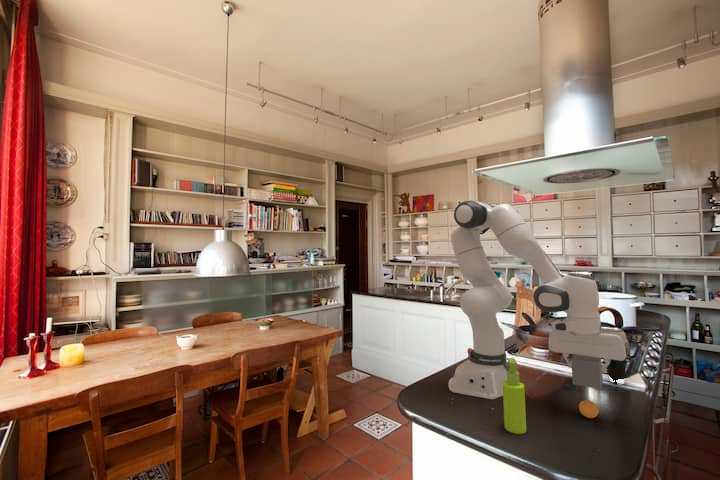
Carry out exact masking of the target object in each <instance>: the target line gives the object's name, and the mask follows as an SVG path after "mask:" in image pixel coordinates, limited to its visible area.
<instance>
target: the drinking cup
mask: <svg viewBox="0 0 720 480" xmlns="http://www.w3.org/2000/svg"><path fill="white" fill-rule="evenodd" d="M625 350H626V359H625V360H623V361H620V360H612V359H610V363H609V365H608V366H607V374H608V375H609V376H610V377H611V378H612V379H613V381H614V380H615V382H614V383H613V385H616V386H619V385H618V384H617V382H616V380H618V379H624V378H625V379H626V374H627V373H626V372H627V357H628V355H627V354H628V351H629V348H628V347H627V346H625Z"/></svg>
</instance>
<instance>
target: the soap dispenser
mask: <svg viewBox="0 0 720 480" xmlns="http://www.w3.org/2000/svg"><path fill="white" fill-rule="evenodd" d="M507 362H508V364H509V369H508V370H506V372H507V381H504V382H503V396H502V397H503V420H504V421H503V422H504V429H505V430H506V431H508V432H509V433H512V434H516V435H517V434H518V435H522V434H525V433H526V432H527V418H526V415H527V413H526V393H525V392H526V391H525V390H526V389H525V384H524V383H523V382H521V381H520V372H519V371H517V366H518V364H517V360H516V359H515V358H514V357H507Z"/></svg>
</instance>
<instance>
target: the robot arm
mask: <svg viewBox="0 0 720 480" xmlns="http://www.w3.org/2000/svg"><path fill="white" fill-rule="evenodd" d="M453 219H454V221H455V223H456V224H457V225H459V226H458V227H456V228H455V229H453V230H452V232H451V234H450V239H451V245H452V250H453V253H454V256H455V259H456V261H457V265H458V268H459V271H460V273H461V275H462V277H464V278H465V279H466V280H467V281H468V282H469V283H470V285H471V286H472V287H471V288H469V289H468V290H466V291H465V292H463V293H462V294H461V296H460V299H459V306H460V308H461V310H462V312H463V313H464V315H466V317H467V318H468V320H469V323H470V326H471V332H472V339H473V340H472V343H473V344H472V345H473V348H471V347H468V348H467V351H466V352H467V354H468V355H467V356H468V359H467V360H465V361H464V362H463V363H461V364H459V365H458V366H457V367H456V368H455V372H454V374H453V376H452V377H451V378H450V379H449V380H448V389H449V390H450V392H452V393H456V394H460V395H465V396H466V395H467V396H472V397H477V398H484V399H487V400H495V399H497V398H499V397H500V398H501V397H503V382H504V381H507V365H508V360H507V358H508V357H507V352H506V350H505V349H506V348H505V332H504V330H503V328H502V327H500V325H499V323H498V322H499V321H498V319H497V313H498V314H499V313H501V312H503V311H505V310H506V309H508V307H510V306H511V304H512V302H513V294H512V291H511V290H510V289H509V288H508V287H507V286H505V285H504V284H503V283H502V281H501V280H500V278H499V277H498V276H497V275H496V273H495V272H494V270H493V268H492V267H491V265H490V263H489V259H488V257H487V255H486V253H485V250H484V247H483V245H482V241H481V239H480V235H484V234H485V233H486V232H488V231H489V230H491V232H492V233H493V234H494V235H495V238H496V239H497V241H498V243H499V244H500V245H501V247H502V249H504V251H506V253H507V254H509V255H511V256H513V257H517V258H519V259H521V260H524V261H525V262H527V263H528V264H529V265H530V266H531V267H532V268H533V270H534V271H535V272H536V275H538V277H539V278H540V280H541V282H543V284H541V285H540V286H538V287H537V288H535V289H534V292H533V294H532V297H533V303H534V304H535V306H536V307H537V309H539V310H540V311H543V312H544V313H551V314H553V313H560V312H564V313H566V318H560V319H556V320H554V321H553V322H552V323H551V331H550V332H549V335H548V350H550V352H553V353H560V354H562V357H563V359H564V360H565V361H566V363H567V368H570V369H572V365H571V358H569V356H570V355H573V354H574V355H582V356H589V357H597V358H601V359H604V361H603V362H604V364H602V365H601V366H600V369H601V370H600V371H601V373H602V374H608V370H607V366H608V365H609V363H610V359H612V360H620V361H623V360H625V359H626V350H625V347H626V346H625V343H626V342H627V335H626V334H627V333H626V332H624V330H622V329H620V328H619V327H609V326H601V325H602V324H601V322H602V321H601V314H600V311H599V304H600V298H599V297H600V295H599V290H598V286H597V285H598V284H597V281H596V280H595V278H594V277H593V276H591V275H589V274H584V273H578V272H577V273H575V272H571V273H570V272H569V273H567V274H566V275H564V276H563V275H562V274H561V272H560V270H558V268H557V266H556V265H555V263H553V261H552V260H551V259H550V257H549V256H548V255H547V253H546V252H545V251H544V250H543V247H541V245H540V244H539V242H538V241H537V239H536V236H535V235H534V234H533V232H532V231H531V229H530V227H529V226H528V225H527V222H525V220H524V219H523V217H522V216H521V214H520V213H519V212H518V211H517V210H516V209H515V208H514V207H513V205H511V204H509V203H500V204H497V205H495V206H493V205H491V204H489V203H485V202H483V201H474V200H465V201H462V202H460V203H458V204H457V205H456V207H455V208H454V211H453ZM626 360H627V359H626Z"/></svg>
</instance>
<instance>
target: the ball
mask: <svg viewBox="0 0 720 480" xmlns="http://www.w3.org/2000/svg"><path fill="white" fill-rule="evenodd" d="M578 409H579V412H580V413H581V415H582V416H584V417H586V418H588V419H594V418H596V417H597V416H598V415H599V409H598V406H597V404H596V403H594V402H593V401H591V400H589V399H585V400H582V401H580V403H579V404H578Z"/></svg>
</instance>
